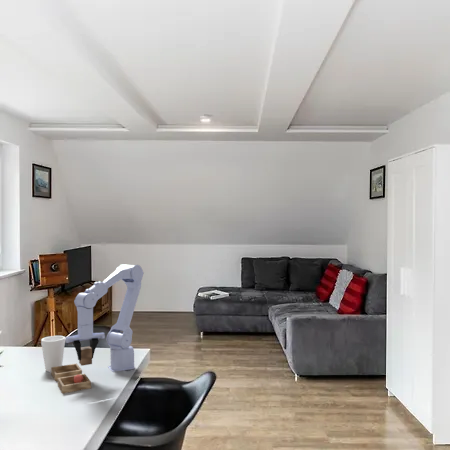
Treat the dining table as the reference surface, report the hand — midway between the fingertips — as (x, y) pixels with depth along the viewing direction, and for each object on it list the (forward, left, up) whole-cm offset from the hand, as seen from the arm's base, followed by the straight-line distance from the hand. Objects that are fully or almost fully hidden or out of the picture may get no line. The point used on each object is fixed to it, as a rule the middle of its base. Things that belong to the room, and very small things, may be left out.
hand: (85, 358), depth 175 cm
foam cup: (+8, -21, -9) cm, 25 cm away
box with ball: (+5, +6, -9) cm, 12 cm away
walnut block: (0, 0, -2) cm, 2 cm away
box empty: (+5, -9, -9) cm, 14 cm away
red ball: (+3, +4, -8) cm, 9 cm away
